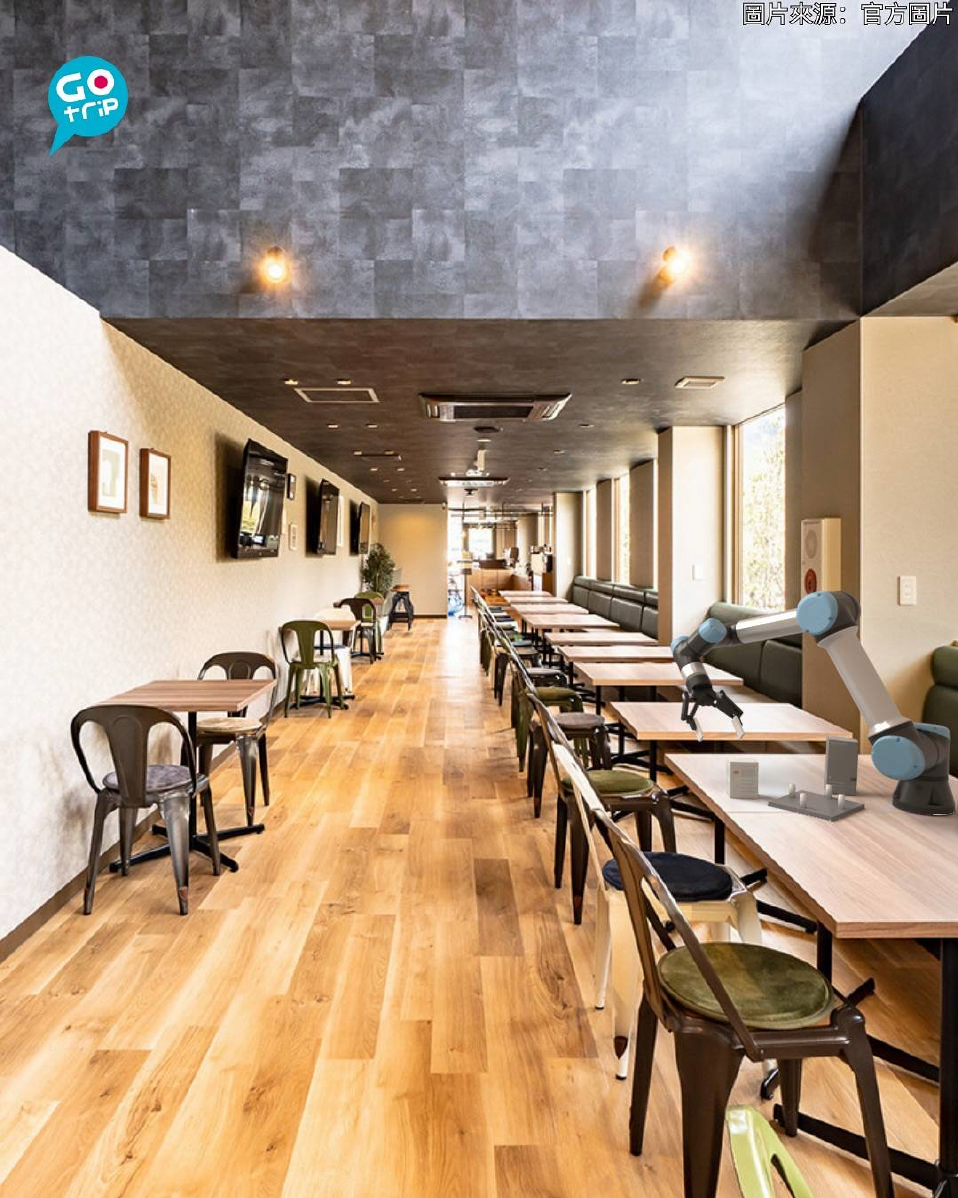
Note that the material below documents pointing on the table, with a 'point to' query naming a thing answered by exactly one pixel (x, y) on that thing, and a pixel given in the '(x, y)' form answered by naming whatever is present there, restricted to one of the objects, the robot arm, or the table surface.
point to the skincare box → (841, 765)
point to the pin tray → (816, 804)
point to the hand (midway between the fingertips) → (722, 737)
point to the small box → (742, 777)
